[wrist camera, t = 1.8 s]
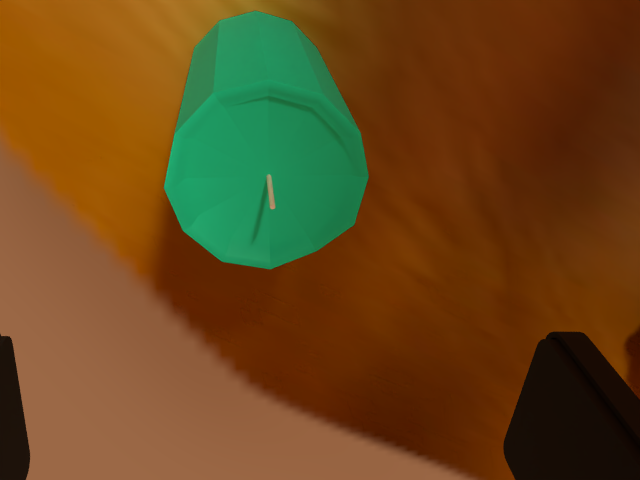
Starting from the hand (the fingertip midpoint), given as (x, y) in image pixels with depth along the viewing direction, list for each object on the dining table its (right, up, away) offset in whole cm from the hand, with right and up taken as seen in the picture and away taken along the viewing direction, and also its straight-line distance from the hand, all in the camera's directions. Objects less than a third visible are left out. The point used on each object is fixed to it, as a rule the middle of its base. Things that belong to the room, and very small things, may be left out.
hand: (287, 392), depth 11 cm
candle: (-2, +10, +16) cm, 19 cm away
